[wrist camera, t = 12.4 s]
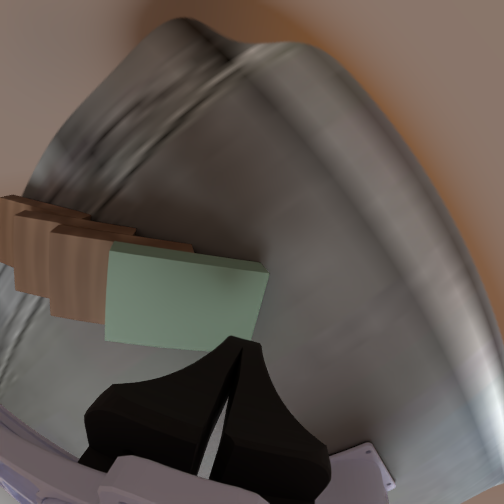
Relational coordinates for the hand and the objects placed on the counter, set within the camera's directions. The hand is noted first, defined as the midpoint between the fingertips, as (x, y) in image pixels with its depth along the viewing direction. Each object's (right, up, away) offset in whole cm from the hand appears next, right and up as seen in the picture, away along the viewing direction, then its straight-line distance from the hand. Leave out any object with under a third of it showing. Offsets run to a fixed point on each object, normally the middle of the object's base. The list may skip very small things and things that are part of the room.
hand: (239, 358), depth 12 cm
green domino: (+1, +1, +5) cm, 5 cm away
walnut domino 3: (-3, +2, +5) cm, 7 cm away
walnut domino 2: (-7, +3, +6) cm, 9 cm away
